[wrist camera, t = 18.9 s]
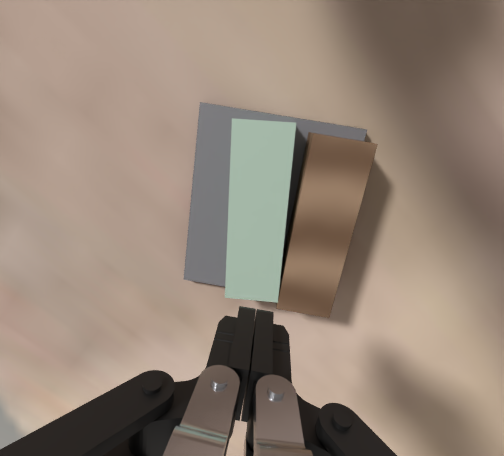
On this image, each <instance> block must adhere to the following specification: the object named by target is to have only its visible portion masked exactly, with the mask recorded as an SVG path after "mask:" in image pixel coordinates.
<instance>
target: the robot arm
mask: <svg viewBox="0 0 504 456" xmlns="http://www.w3.org/2000/svg"><path fill="white" fill-rule="evenodd" d="M255 311H256V309H253V308H247V307H241V306H240V307H239V312H238V317H237V318H236V317H230V316H225V317H224V318H223V319H222V320H221V321H220V322H219V323H218V327H217V330H216V334H215V338H214V341H213V345H212V348H211V352H210V355H209V359H208V362H207V366H206V368H205V370H203V371H202V373H201V374H200V375H199V376H198V377H196V378H194V379H192V380H189V381H181V382H174V380H173V378H172V377H171V376H170V375H169V374H167V373H166V372H163V371H158V370H152V371H147V372H144V373H142V374H140V375H138V376H136V377H134V378H132V379H130V380H129V381H127V382H125V383H123V384H121V385H119V386H117V387H116V388H114V389H112V390H110V391H108V392H106V393H104V394H103V395H101V396H99V397H97V398H95V399H93V400H91V401H90V402H88V403H86V404H84V405H82V406H80V407H78V408H77V409H75V410H73V411H71V412H69V413H67V414H65V415H64V416H62V417H60V418H58V419H56V420H54V421H52V422H51V423H49V424H47V425H45V426H43V427H41V428H39V429H38V430H36V431H34V432H32V433H30V434H28V435H26V436H25V437H23V438H21V439H19V440H17V441H15V442H13V443H12V444H10V445H8V446H6V447H4V448H2V449H1V450H0V456H226V453H227V449H228V444H229V439H230V438H231V436H232V433H233V428H234V423H235V420H238V421H239V420H240V415H241V410H242V405H243V410H242V419H241V421H245V422H247V432H246V437H245V442H244V456H397V455H396V454H395V453H394V452H393V451H392V450H391V449H390V448H389V447H388V446H387V445H386V444H385V443H384V442H383V441H382V440H381V439H380V438H379V437H378V436H377V435H376V434H375V433H374V432H373V431H372V430H371V429H370V428H369V427H368V426H367V425H366V424H365V423H364V422H363V421H362V420H361V419H360V418H359V417H358V416H357V415H356V414H355V413H354V412H353V411H352V410H351V409H349V408H348V407H346V406H344V405H342V404H338V403H329V404H326V405H324V406H323V407H322V408H321V409H320V408H318V407H316V406H314V405H312V404H310V403H308V402H306V401H304V400H303V399H302V398H301V397H300V396H299V395H298V394H297V393H296V390H295V388H294V386H293V385H292V380H291V362H290V346H289V334H288V332H287V331H286V329H285V327H284V326H282V325H276V324H273V312H270V311H265V310H259V309H257V311H256V316H255ZM254 321H255V322H254ZM243 399H244V402H243Z"/></svg>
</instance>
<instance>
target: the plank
mask: <svg viewBox="0 0 504 456" xmlns="http://www.w3.org/2000/svg"><path fill="white" fill-rule="evenodd" d="M295 131H296V123H294V122H278V121H263V120H248V119H233V118H232V129H231V154H230V180H229V205H228V231H227V256H226V282H225V298H235V299H245V300H256V301H266V302H277V303H278V296H279V286H280V276H281V267H282V257H283V247H284V238H285V228H286V218H287V208H288V199H289V189H290V179H291V170H292V160H293V150H294V141H295Z"/></svg>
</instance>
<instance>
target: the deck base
mask: <svg viewBox="0 0 504 456" xmlns="http://www.w3.org/2000/svg"><path fill="white" fill-rule="evenodd" d="M232 118H233V119H248V120H263V121H278V122H294V123H296V131H295V141H294V150H293V160H292V170H291V179H290V189H289V199H288V208H287V218H286V228H285V238H284V247H283V254H284V249H285V244H286V239H287V235H288V230H289V225H290V220H291V215H292V210H293V205H294V201H295V196H296V191H297V186H298V181H299V176H300V171H301V167H302V162H303V157H304V152H305V147H306V142H307V137H308V133H309V132H311V133H317V134H323V135H329V136H335V137H341V138H347V139H353V140H360V141H364V140H365V136H366V132H367V130H366V129H360V128H354V127H348V126H342V125H336V124H330V123H324V122H317V121H311V120H305V119H299V118H293V117H287V116H281V115H275V114H269V113H263V112H257V111H250V110H244V109H238V108H232V107H226V106H220V105H214V104H208V103H202V102H200V108H199V119H198V130H197V141H196V152H195V162H194V173H193V184H192V195H191V205H190V216H189V227H188V238H187V249H186V259H185V270H184V280H190V281H196V282H201V283H207V284H213V285H218V286H224V287H225V282H226V256H227V231H228V205H229V180H230V154H231V129H232ZM282 259H283V257H282Z"/></svg>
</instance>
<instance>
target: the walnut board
mask: <svg viewBox="0 0 504 456" xmlns="http://www.w3.org/2000/svg"><path fill="white" fill-rule="evenodd" d="M377 145H378V144H374V143H370V142H365V141H360V140H353V139H347V138H341V137H335V136H329V135H323V134H317V133H311V132H309V133H308V137H307V142H306V147H305V152H304V157H303V162H302V167H301V171H300V176H299V181H298V186H297V191H296V196H295V201H294V205H293V210H292V215H291V220H290V225H289V230H288V235H287V239H286V244H285V249H284V254H283V259H282V267H281V276H280V286H279V296H278V303H277V309H282V310H287V311H293V312H298V313H304V314H310V315H315V316H321V317H327V318H329V316H330V313H331V309H332V306H333V302H334V298H335V295H336V291H337V288H338V284H339V281H340V277H341V273H342V270H343V266H344V263H345V259H346V256H347V252H348V248H349V245H350V241H351V238H352V234H353V231H354V227H355V223H356V220H357V216H358V213H359V209H360V206H361V202H362V198H363V195H364V191H365V188H366V184H367V180H368V177H369V173H370V170H371V166H372V163H373V159H374V155H375V152H376V148H377Z"/></svg>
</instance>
